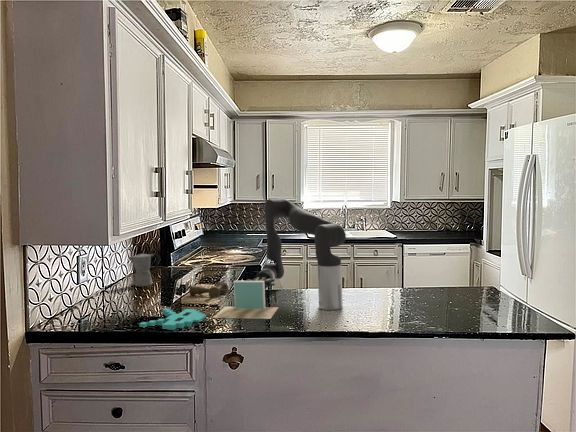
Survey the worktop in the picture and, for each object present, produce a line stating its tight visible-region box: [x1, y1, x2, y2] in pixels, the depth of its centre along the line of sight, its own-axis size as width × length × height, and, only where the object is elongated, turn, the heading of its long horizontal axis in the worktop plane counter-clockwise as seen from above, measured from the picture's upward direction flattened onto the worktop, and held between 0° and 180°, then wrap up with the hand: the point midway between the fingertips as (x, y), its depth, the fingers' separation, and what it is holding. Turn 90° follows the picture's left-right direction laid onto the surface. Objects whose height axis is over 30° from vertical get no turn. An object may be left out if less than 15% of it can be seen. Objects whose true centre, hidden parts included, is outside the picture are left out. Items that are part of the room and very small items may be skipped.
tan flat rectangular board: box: [212, 306, 279, 320], centre depth 176 cm, size 22×15×1 cm
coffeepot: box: [128, 249, 161, 288], centre depth 236 cm, size 15×9×18 cm, turn 112°
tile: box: [233, 280, 266, 310], centre depth 180 cm, size 12×2×11 cm, turn 80°
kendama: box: [188, 281, 232, 299], centre depth 207 cm, size 6×10×20 cm
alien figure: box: [138, 307, 207, 331], centre depth 171 cm, size 20×2×20 cm
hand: (255, 286), depth 189 cm, fingers closed
